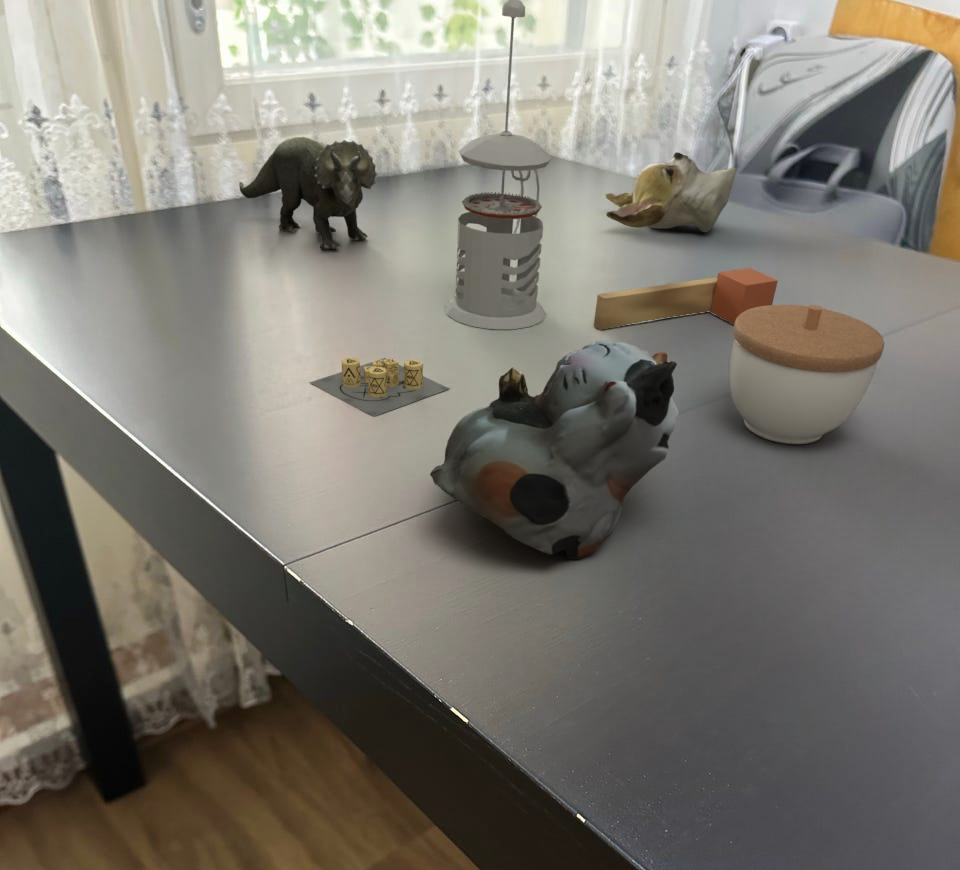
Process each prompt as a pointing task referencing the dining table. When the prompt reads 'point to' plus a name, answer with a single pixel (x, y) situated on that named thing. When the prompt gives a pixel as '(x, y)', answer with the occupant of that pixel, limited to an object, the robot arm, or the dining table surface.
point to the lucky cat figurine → (564, 447)
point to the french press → (500, 231)
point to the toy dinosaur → (317, 183)
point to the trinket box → (799, 370)
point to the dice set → (379, 384)
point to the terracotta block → (741, 292)
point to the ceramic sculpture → (674, 196)
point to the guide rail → (654, 302)
